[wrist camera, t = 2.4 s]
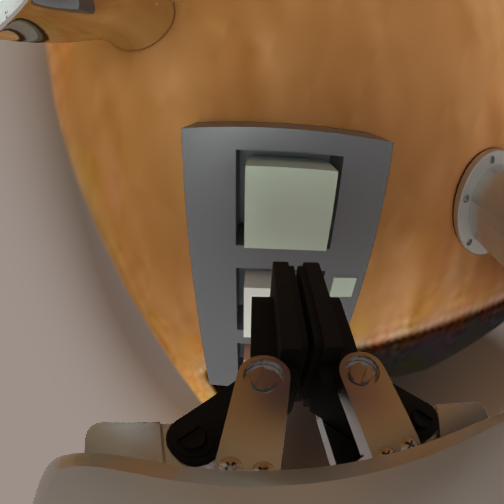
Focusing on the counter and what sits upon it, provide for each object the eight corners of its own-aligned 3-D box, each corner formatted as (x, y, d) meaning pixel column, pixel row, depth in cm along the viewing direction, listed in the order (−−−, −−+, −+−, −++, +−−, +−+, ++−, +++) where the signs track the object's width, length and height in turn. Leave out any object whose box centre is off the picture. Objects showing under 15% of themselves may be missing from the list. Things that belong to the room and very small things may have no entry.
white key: (312, 267, 23) (318, 289, 20) (303, 315, 26) (307, 338, 23) (245, 264, 23) (243, 287, 20) (245, 313, 26) (243, 337, 23)
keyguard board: (370, 133, 20) (394, 143, 16) (319, 358, 34) (324, 387, 30) (197, 122, 20) (180, 128, 16) (214, 356, 34) (209, 385, 30)
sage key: (327, 160, 18) (338, 171, 16) (318, 231, 21) (326, 250, 19) (247, 155, 18) (245, 165, 16) (246, 227, 21) (244, 247, 19)
